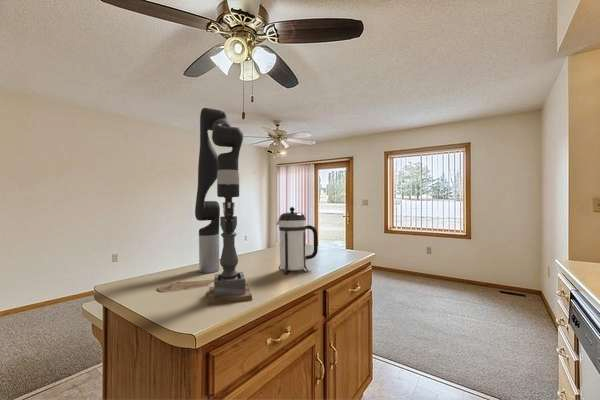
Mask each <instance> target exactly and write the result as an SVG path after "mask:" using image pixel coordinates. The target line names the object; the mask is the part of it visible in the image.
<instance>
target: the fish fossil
mask: <svg viewBox="0 0 600 400" xmlns="http://www.w3.org/2000/svg"><path fill="white" fill-rule="evenodd" d="M213 283H214V279H205V280H195V281H193V280H191V281H177V282H173V283H172V282H171V283H170V282H169V283H165V284H163V285H159V286H158V287H157V292H159V293H175V292H181V291H188V290H192V289H193V290H194V289H198V288H203V287H208V286H209V287H210V285H211V284H213Z"/></svg>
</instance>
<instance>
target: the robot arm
mask: <svg viewBox="0 0 600 400" xmlns="http://www.w3.org/2000/svg"><path fill="white" fill-rule="evenodd" d="M208 131H212V133H211V139H212V140H211V141H212V143H213V144H214V145H215V146H218V147H222V148H223V147H224V148H231V151H228V152H223V153H220V154H217V152H216V150H215V148H214V147H213V144H212V143H211V141H210V137H209V133H208ZM243 141H244V133H243V131H242V129H241V128H239V127H237V126H236V127H234V126H232V125H231V124H230V122H229V118H228V116H227V113H226V112H225V111H223V110H221V109H215V108H209V107H203V108H202V109H201V110H200V115H199V154H198V168H197V191H196V198H195V209H194V216H195V219H196V220H197V221H199V222H201V221H202V222H203V221H204V222H205V221H210V223H209V224H207V225H205V226H204V227H201V228H199V229H198V265H199V266H198V270H199V273H201V274H202V273H204V274H206V273H207V274H208V273H210V274H211V273H215V272H218V271H220V217H221V215H220V214H221V206H220V204H219V202H218V201H216V200H206V196H207V194H208V192H209V190H210V189H211V187H212V186H213V185H214V183H216V185H217V186H216V195H217V198H224V202H222V208H223V216H225V222H226V233H232V222H231V221H233V216H235V206H236V205H235V204H236V203H235V202H234V201H233V198H239V197H240V173H239V157H240V152H241V147H242V145H243Z"/></svg>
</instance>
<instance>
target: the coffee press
mask: <svg viewBox="0 0 600 400" xmlns="http://www.w3.org/2000/svg"><path fill="white" fill-rule="evenodd" d="M289 211H290V212H283V213H281V214H280V216H279V218H278V220H277V221H276V224H275V225H276V226H278V230H279V266H278V270H279V271H280V270H284V271H283V274H284V275H288V274H289V273H290V271H300V270H302V271H303V272H304V273H305V274H306V273H307V272H309V269H308V268H307V266H306V265H307V264H306V263H307V260H311V259H314V258H315V257H316V256H317V254H318V249H319V247H318V246H319V245H318V239H319V238H318V231H317V229H316V227H315V226H313V225H306V220H307V218H306V217H305V216H306V215H305V214H303V213H302V212H294V211H295V207H293V206H291V207H290V208H289ZM306 230H311V231H312V234H313V235H312V236H313V252H312V254H309V255H307V254H306Z"/></svg>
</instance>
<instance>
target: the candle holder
mask: <svg viewBox="0 0 600 400" xmlns="http://www.w3.org/2000/svg"><path fill="white" fill-rule="evenodd" d="M231 222H232V233H226V222H225V216H224V215H222V216H220V219H219V227H221V230H222V232H221V234H220V236H221V237H222V243H223V244H222V251H221V255H220V258H219V265H220V266H221V267H222V270H223V271H222V272H221V273H220V274H221V277H222V278H221V279H220V281H222V280H233V279H238V277H237V274H238V272H237V271H236V267H237V265H238V263H239V259H238V254H237V251H236V246H235V245H236V244H235V243H236V242H235V241H236V240H235V238H236V236H237V233H236V232H235V230H236V228H237V226H238V216H236V215H233V221H231Z"/></svg>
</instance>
